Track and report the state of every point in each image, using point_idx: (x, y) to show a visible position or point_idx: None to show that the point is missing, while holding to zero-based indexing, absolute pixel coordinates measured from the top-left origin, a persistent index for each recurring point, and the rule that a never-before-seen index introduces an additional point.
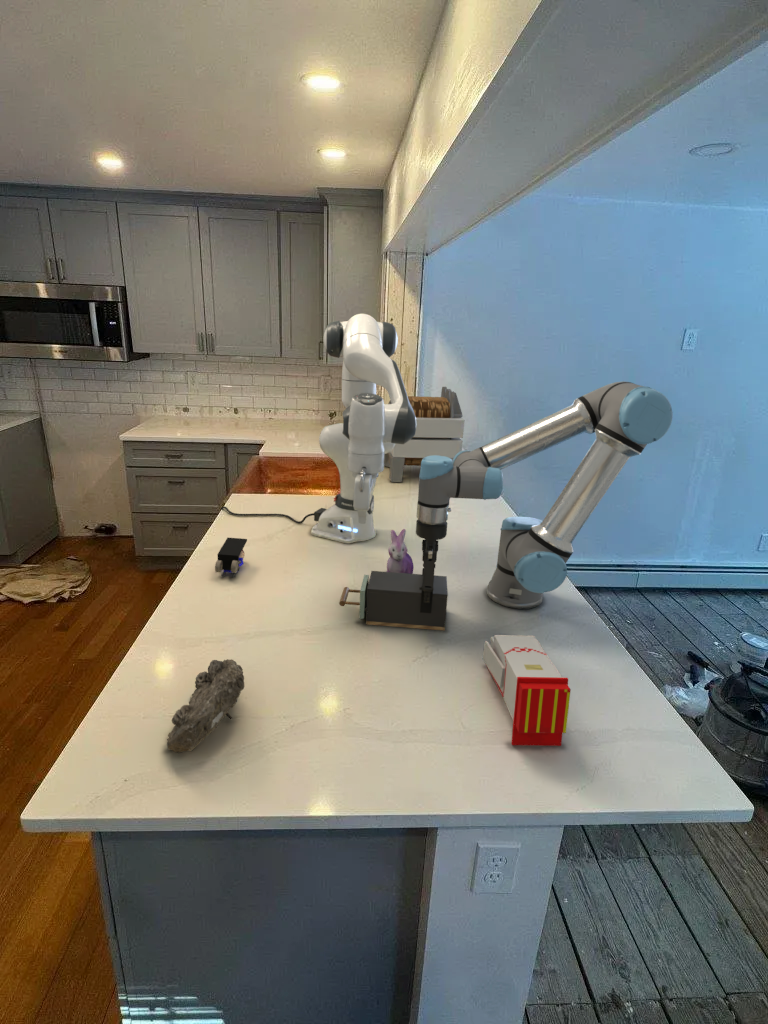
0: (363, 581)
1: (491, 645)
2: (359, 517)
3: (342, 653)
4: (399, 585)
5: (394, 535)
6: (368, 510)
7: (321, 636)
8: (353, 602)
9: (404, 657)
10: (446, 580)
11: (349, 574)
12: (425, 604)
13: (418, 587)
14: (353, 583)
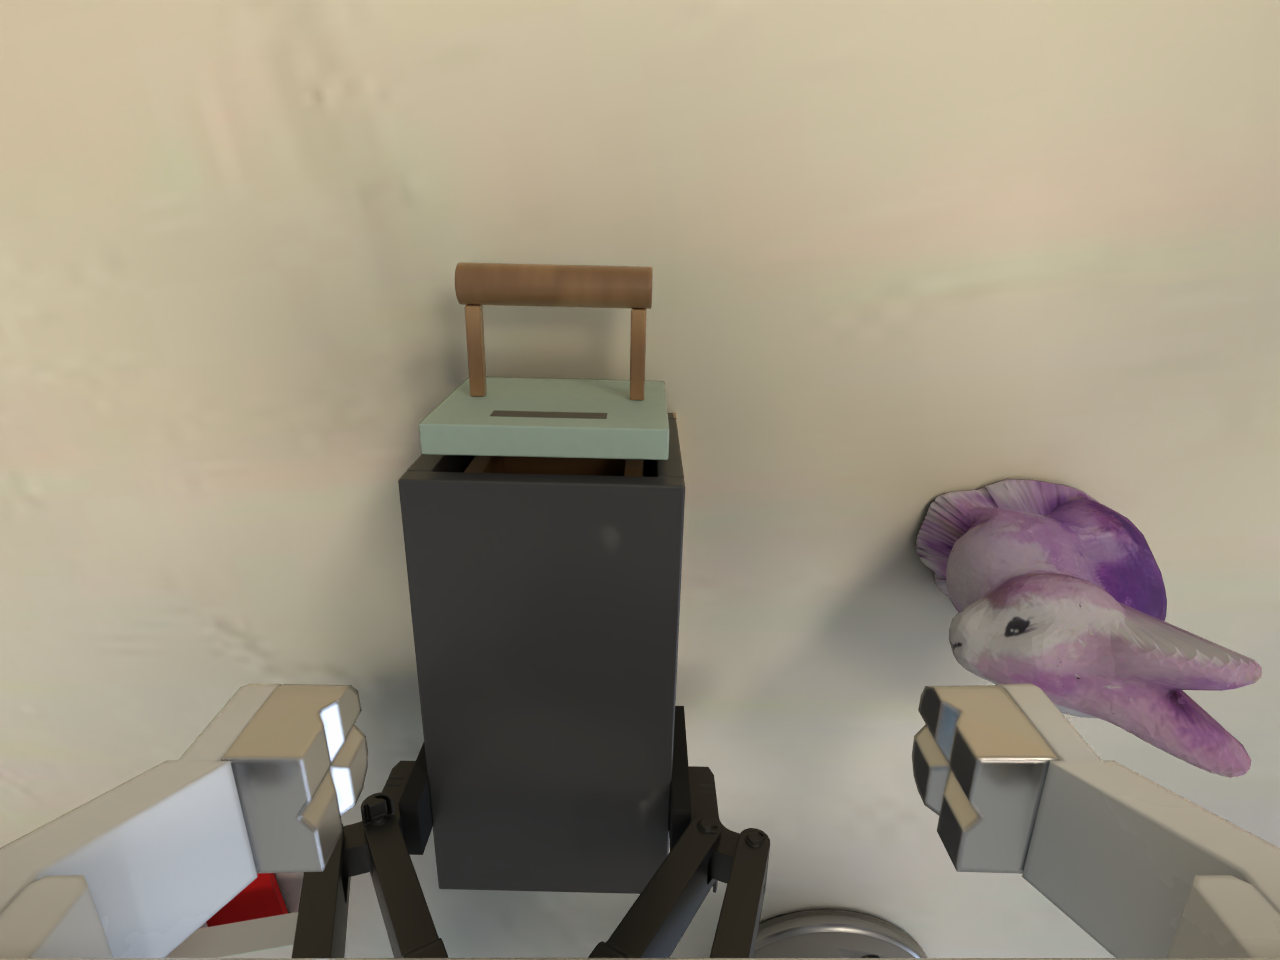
0: (559, 433)
1: (290, 920)
2: (195, 760)
3: (171, 319)
4: (492, 666)
5: (1162, 679)
6: (916, 772)
7: (287, 182)
8: (472, 355)
9: (233, 589)
10: (610, 891)
11: (1061, 249)
12: None
13: (490, 763)
14: (929, 291)
